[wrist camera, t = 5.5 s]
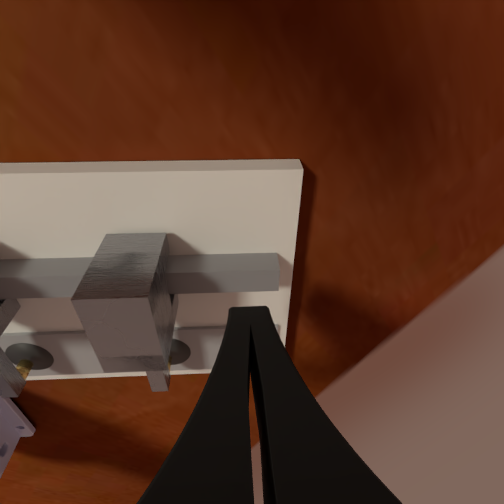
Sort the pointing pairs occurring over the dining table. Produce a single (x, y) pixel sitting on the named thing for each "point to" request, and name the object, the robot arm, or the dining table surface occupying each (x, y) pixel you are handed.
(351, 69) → the dining table surface
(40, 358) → the board
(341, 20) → the dining table surface
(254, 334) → the robot arm
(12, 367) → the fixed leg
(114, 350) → the grey sliding bolt
